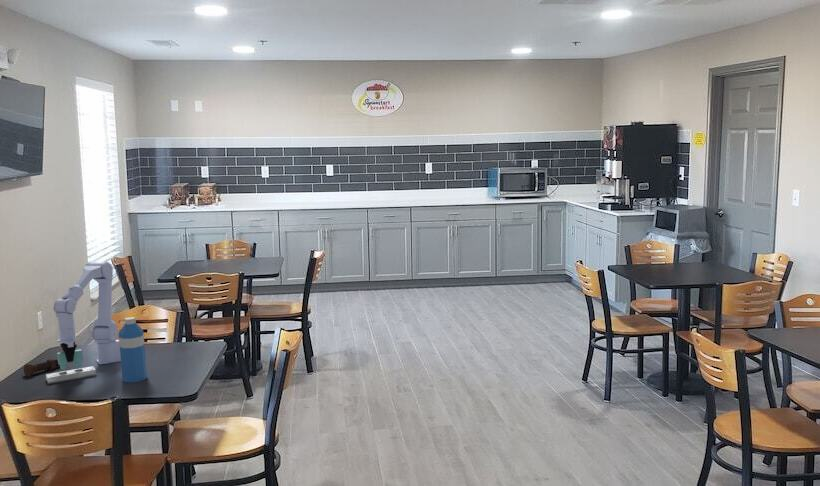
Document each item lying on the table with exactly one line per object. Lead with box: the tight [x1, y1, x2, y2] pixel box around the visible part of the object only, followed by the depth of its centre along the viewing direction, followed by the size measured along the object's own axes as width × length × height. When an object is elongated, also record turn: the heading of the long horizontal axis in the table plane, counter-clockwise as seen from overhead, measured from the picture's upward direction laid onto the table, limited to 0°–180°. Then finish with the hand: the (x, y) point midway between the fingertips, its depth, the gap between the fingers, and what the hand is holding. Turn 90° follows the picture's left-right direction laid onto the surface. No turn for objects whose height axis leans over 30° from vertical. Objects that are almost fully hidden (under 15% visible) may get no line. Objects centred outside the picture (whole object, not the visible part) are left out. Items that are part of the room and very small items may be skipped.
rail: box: [45, 365, 97, 385], centre depth 313 cm, size 18×6×2 cm, turn 122°
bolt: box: [23, 358, 60, 377], centre depth 323 cm, size 6×5×15 cm
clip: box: [56, 348, 84, 370], centre depth 312 cm, size 9×2×6 cm, turn 122°
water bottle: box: [118, 316, 148, 383], centre depth 307 cm, size 9×9×25 cm
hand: (69, 360), depth 312 cm, fingers closed on clip, 2 cm apart
